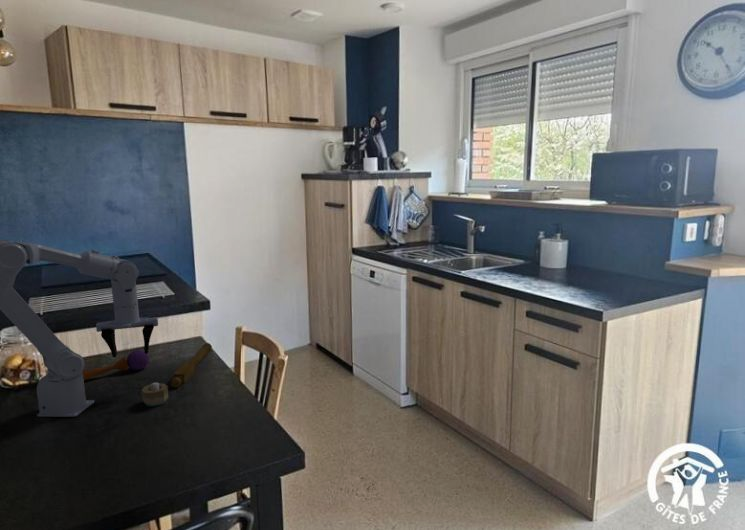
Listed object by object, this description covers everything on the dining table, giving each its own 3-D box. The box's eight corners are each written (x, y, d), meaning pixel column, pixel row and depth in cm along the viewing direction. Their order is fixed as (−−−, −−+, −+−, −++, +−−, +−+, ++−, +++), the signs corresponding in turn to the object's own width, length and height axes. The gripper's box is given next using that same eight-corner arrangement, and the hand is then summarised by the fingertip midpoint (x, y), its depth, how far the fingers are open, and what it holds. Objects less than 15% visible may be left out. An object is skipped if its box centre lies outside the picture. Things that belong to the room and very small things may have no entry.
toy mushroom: (141, 406, 122) (139, 388, 122) (151, 397, 127) (149, 380, 127) (161, 406, 122) (159, 388, 121) (170, 397, 127) (168, 380, 126)
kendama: (69, 367, 139) (144, 346, 150) (73, 387, 139) (148, 365, 151) (70, 369, 134) (148, 348, 145) (76, 390, 134) (152, 367, 146)
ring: (139, 404, 122) (138, 392, 121) (149, 394, 127) (148, 383, 127) (161, 404, 122) (160, 392, 121) (171, 394, 127) (170, 383, 127)
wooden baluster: (212, 342, 162) (179, 379, 132) (212, 351, 162) (180, 389, 133) (202, 342, 161) (167, 379, 132) (203, 351, 162) (168, 390, 132)
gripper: (91, 311, 122) (97, 362, 125) (154, 305, 127) (159, 355, 129) (97, 304, 129) (102, 353, 131) (157, 299, 133) (161, 347, 136)
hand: (130, 354), depth 131 cm, fingers open, 7 cm apart
